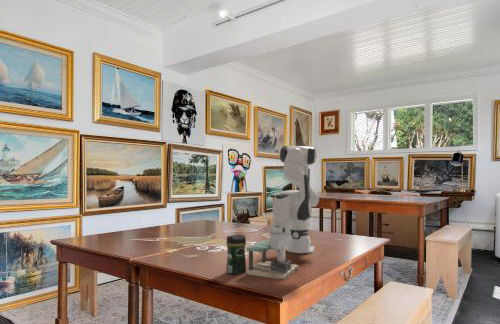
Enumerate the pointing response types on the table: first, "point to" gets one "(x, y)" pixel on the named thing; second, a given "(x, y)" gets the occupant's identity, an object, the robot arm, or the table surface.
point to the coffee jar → (236, 254)
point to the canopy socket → (268, 263)
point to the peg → (282, 258)
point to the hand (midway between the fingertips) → (281, 255)
